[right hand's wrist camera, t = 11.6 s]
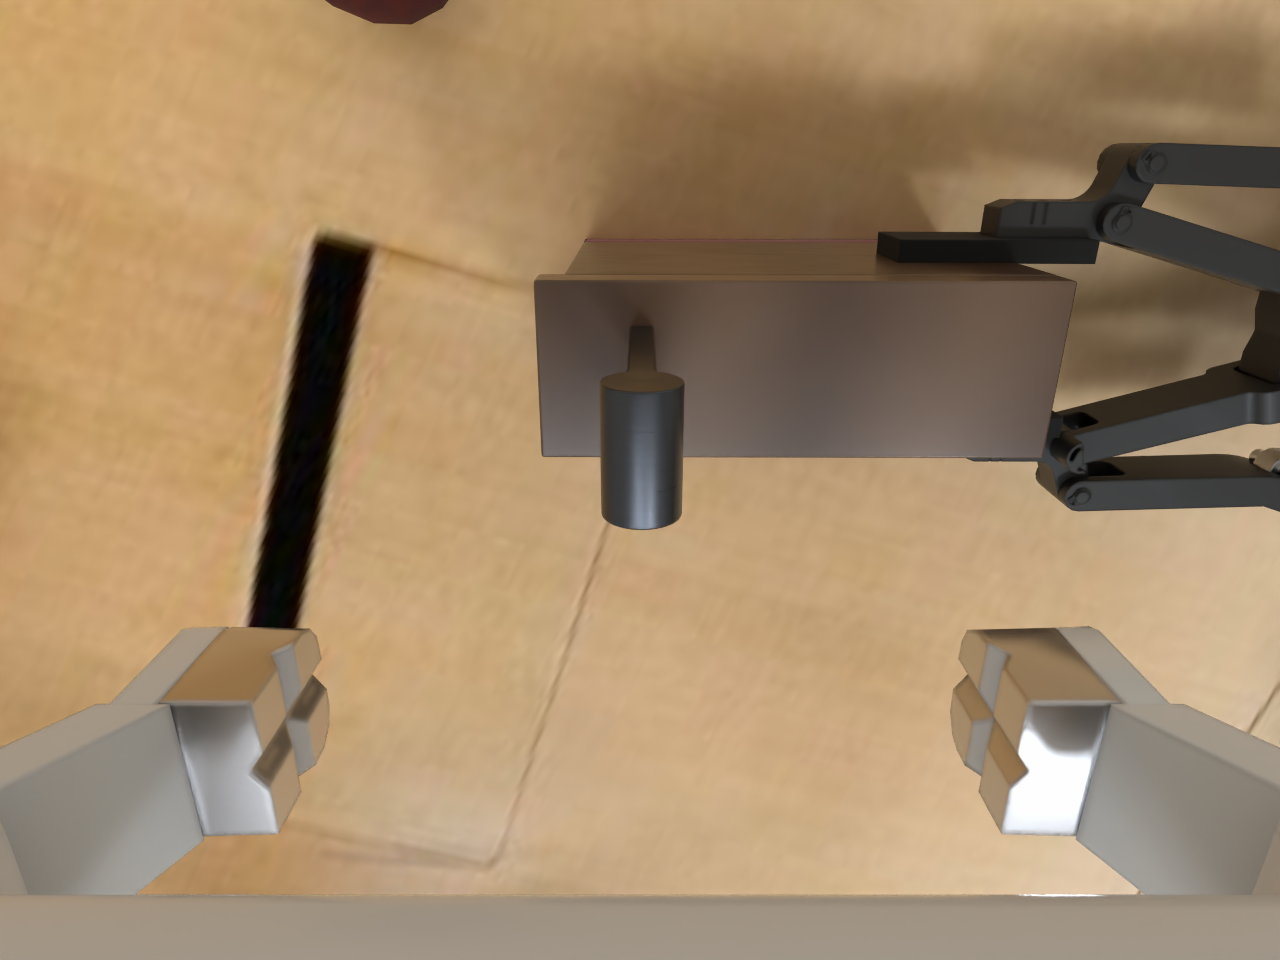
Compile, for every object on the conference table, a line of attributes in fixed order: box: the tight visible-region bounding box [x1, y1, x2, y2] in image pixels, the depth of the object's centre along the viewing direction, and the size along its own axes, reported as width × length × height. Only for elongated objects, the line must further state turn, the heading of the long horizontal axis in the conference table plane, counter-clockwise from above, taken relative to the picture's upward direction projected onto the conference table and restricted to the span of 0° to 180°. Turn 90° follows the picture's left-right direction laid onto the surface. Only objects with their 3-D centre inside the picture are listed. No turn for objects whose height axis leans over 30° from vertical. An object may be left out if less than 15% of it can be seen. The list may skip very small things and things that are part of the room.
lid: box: [534, 274, 1077, 530], centre depth 21 cm, size 15×5×9 cm, turn 90°
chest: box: [565, 239, 1056, 276], centre depth 30 cm, size 15×5×10 cm, turn 90°
